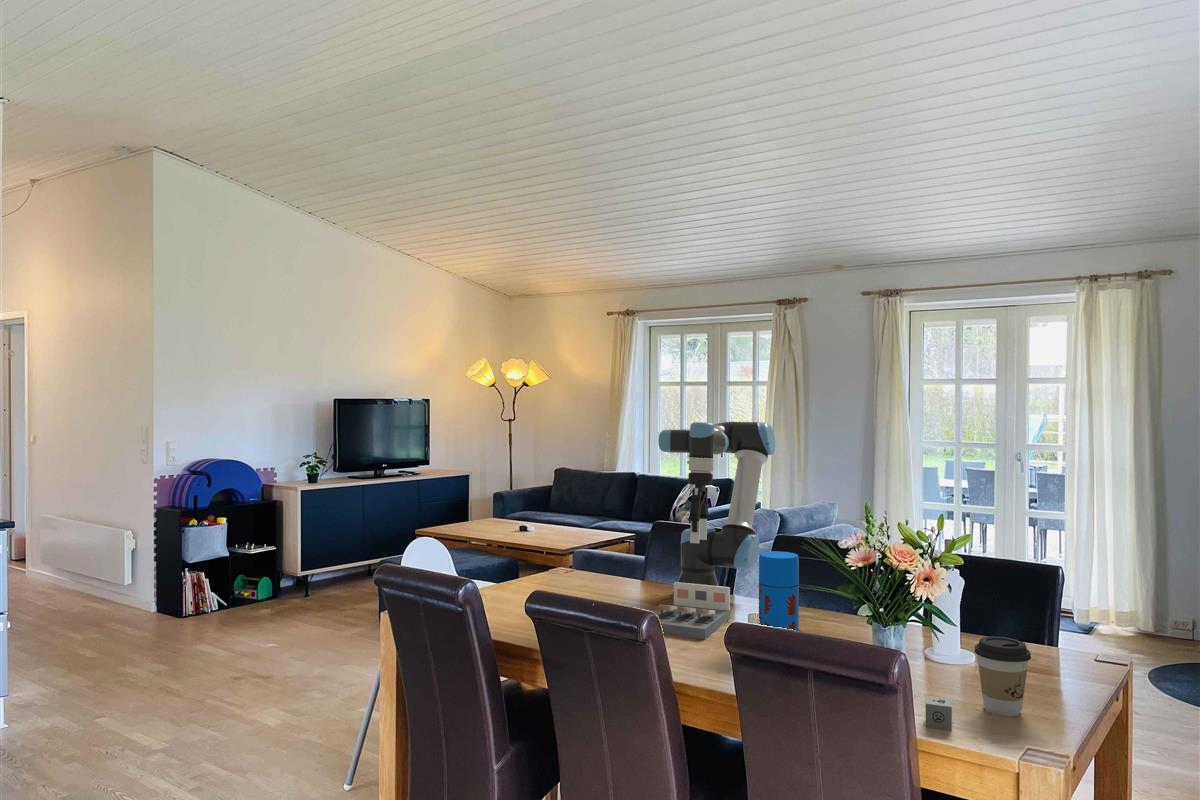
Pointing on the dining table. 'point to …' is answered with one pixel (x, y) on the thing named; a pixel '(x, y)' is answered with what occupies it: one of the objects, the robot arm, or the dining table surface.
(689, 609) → the switch
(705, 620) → the switch unit
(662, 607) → the switch
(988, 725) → the dining table surface
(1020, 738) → the dining table surface
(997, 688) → the coffee cup
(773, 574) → the thermos
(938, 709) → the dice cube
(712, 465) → the robot arm
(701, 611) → the switch
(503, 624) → the dining table surface
